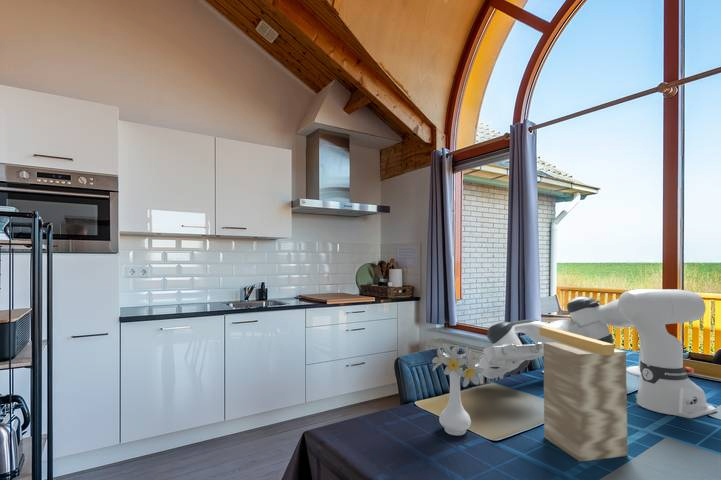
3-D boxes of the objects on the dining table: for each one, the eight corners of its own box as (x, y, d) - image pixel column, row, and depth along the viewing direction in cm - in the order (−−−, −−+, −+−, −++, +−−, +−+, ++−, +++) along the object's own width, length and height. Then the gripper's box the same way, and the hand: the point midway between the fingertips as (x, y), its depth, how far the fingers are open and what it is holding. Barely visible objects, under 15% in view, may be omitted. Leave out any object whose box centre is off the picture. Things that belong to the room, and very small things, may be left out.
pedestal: (587, 432, 113) (586, 340, 113) (627, 455, 100) (625, 351, 101) (544, 437, 110) (543, 342, 110) (579, 461, 97) (578, 354, 98)
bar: (548, 334, 121) (548, 326, 121) (614, 354, 98) (614, 344, 98) (539, 335, 120) (539, 326, 121) (604, 355, 97) (603, 345, 97)
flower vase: (462, 450, 102) (461, 357, 103) (421, 424, 118) (421, 343, 118) (497, 440, 108) (496, 352, 109) (453, 416, 123) (453, 339, 124)
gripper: (535, 365, 140) (559, 353, 129) (483, 368, 136) (502, 357, 124) (530, 347, 144) (552, 334, 132) (478, 350, 139) (497, 337, 128)
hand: (527, 345), depth 128 cm, fingers open, 8 cm apart
